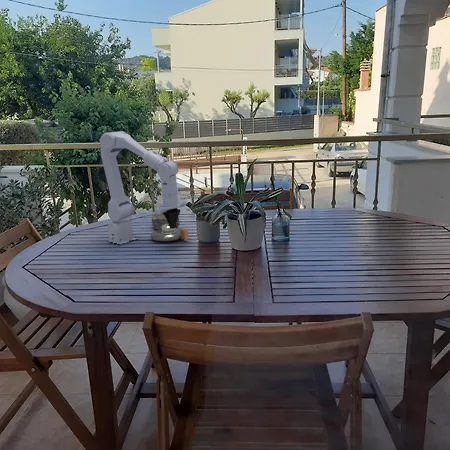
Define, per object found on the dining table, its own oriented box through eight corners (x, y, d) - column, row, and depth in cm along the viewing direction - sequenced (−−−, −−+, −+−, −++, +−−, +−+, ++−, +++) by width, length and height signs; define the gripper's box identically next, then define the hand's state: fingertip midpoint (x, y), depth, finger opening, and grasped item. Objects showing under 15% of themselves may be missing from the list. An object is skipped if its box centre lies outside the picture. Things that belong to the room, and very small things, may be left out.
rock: (175, 231, 177) (181, 222, 192) (174, 217, 176) (180, 209, 190) (147, 231, 178) (155, 222, 192) (146, 216, 176) (154, 209, 191)
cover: (169, 235, 162) (168, 228, 161) (158, 233, 166) (157, 226, 165) (179, 231, 167) (178, 224, 166) (169, 229, 170) (168, 222, 170)
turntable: (173, 244, 155) (172, 234, 154) (143, 237, 165) (142, 228, 164) (199, 234, 166) (198, 225, 165) (169, 228, 177) (168, 219, 176)
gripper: (163, 198, 143) (166, 234, 147) (190, 191, 154) (192, 224, 158) (149, 196, 147) (153, 231, 151) (177, 189, 158) (180, 222, 162)
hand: (172, 228), depth 155 cm, fingers closed
